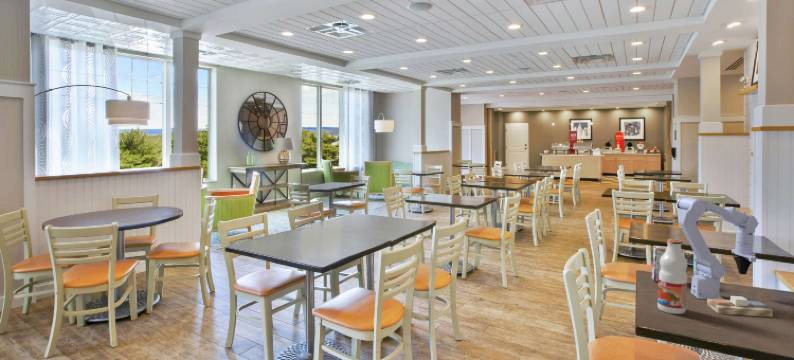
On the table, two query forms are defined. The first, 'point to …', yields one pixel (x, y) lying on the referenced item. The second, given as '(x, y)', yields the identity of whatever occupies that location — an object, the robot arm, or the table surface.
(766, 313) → the light wood flat board
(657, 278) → the candy bar box
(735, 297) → the off-white key
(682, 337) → the table surface
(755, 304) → the slate blue key
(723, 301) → the terracotta key
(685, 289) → the fruit juice
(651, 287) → the table surface
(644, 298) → the table surface
